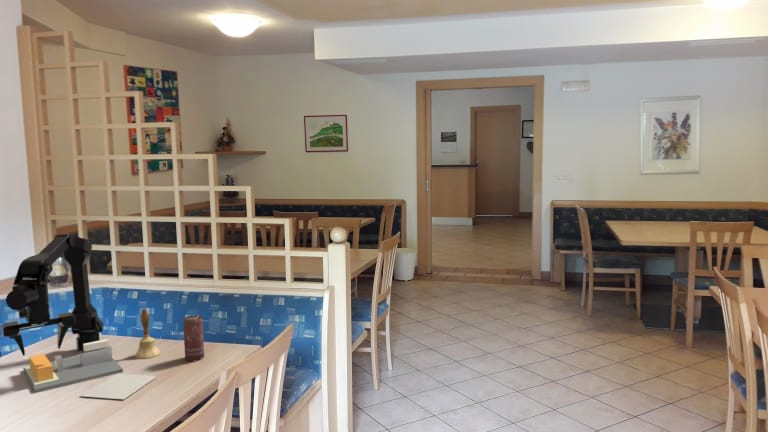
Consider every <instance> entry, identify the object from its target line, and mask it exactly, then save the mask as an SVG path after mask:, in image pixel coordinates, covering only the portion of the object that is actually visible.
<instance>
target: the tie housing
mask: <svg viewBox="0 0 768 432" xmlns="http://www.w3.org/2000/svg"><path fill="white" fill-rule="evenodd" d="M78 352H79V356H80V364H81V365H82V366H83V367H84V366H88V365H93V364H97V363H102V362H106V361H110V360H112V358H113V352H112V346H110V345H109V344H108V347H104V348H99V349H95V350H90V351H84V350H82V351H79V350H78ZM62 359H63V357H62V356H61V354H58V355H55V356H54V361H55V369H56V371H57V372H61V371H63V360H62Z"/></svg>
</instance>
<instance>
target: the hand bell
mask: <svg viewBox="0 0 768 432" xmlns="http://www.w3.org/2000/svg"><path fill="white" fill-rule="evenodd" d="M147 310H148V309H147V308H142V310H141V314H140V322H141V325H142V327H143V331H142V332H143V338H141V339H140V340H139V346H138V350H137V351H136V352H135V354H134V357H135V358H136V359H139V360H146V359H152V358H155V357H158V356H160V354H161V352H162V351H161V350H160V349H159V348H158V347H157V346H156V343H155V339H154V337H151V336H150V332H149V323H150V315H149V312H148V311H147Z"/></svg>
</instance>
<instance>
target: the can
mask: <svg viewBox="0 0 768 432" xmlns="http://www.w3.org/2000/svg"><path fill="white" fill-rule="evenodd" d="M182 322H183V340H184V341H183V342H184V343H183V344H184V358H185V360H186V361H188V360H197V361H200V360H199V359H201V358H202V359H204V358H205V348H204V347H205V343H204V325H203V324H204V323H203V317H202V316H201V315H189V316H186V317H184V318H183V321H182ZM202 359H201V360H202Z"/></svg>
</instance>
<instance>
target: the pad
mask: <svg viewBox="0 0 768 432" xmlns="http://www.w3.org/2000/svg"><path fill="white" fill-rule="evenodd" d="M25 370H26V371H27V373H28V375H29V377H30V379H31V380H32V382H33V384H34V386H37V385H41V384H45V383H50V382H54V381H58V380H59V378H58V377H57V375H56V374H55V373H54V371H53V379H49V380H45V381H40V382H38V381H37V379H36V377H35V376H34V374H33V372H32V371H31V369H30V365H29V366H25Z"/></svg>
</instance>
